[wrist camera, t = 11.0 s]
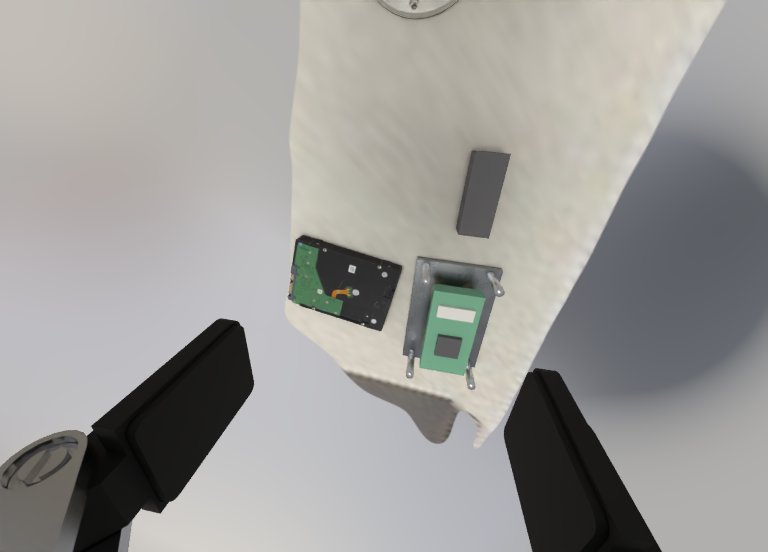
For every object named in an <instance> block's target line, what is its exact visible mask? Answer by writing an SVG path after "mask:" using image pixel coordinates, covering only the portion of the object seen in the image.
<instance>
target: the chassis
mask: <svg viewBox="0 0 768 552" xmlns="http://www.w3.org/2000/svg"><path fill="white" fill-rule="evenodd" d="M502 273H503V271H502V269H501V268H495V267H488V266H480V265H473V264H466V263H459V262H452V261H444V260H437V259H430V258H423V257H418V258H417V264H416V271H415V277H414V284H413V290H412V297H411V303H410V310H409V316H408V323H407V330H406V336H405V343H404V349H403V355H406V356H408V361H407V371H406V377H407V378H413V373H414V359H415V357H418V358H420V355H421V350H422V345H423V339H424V334H425V329H426V323H427V318H428V313H429V308H430V302H431V297H432V292H433V286H434V284H441V285H448V286H455V287H462V288H468V289H475V290H482V291H483V293H484V295H485V302H484V306H483V309H482V313H481V316H480V320H479V323H478V327H477V331H476V334H475V338H474V341H473V345H472V348H471V352H470V355H469V359H468V363H467V366H466V370H465V374H466V380H467V386H468V389H470V390H473V389H475V382H474V377H473V372H472V367H475V364H476V360H477V357H478V354H479V350H480V347H481V343H482V340H483V337H484V333H485V330H486V327H487V323H488V320H489V316H490V313H491V310H492V306H493V303H494V300H495V296H498V297H501V296H503V295H504V293H505V292H504V290H503V288H502V286H501V284H500V279H501V276H502Z"/></svg>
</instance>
